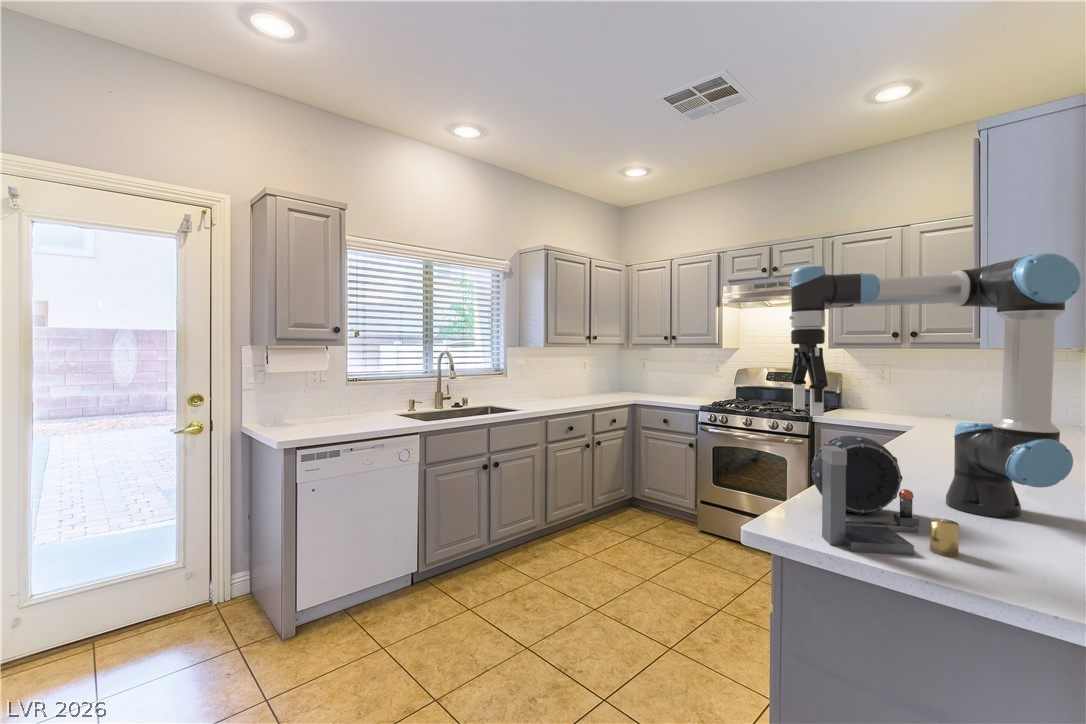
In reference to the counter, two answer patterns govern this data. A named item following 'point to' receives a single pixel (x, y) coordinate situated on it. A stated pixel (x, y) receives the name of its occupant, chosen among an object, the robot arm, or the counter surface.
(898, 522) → the lever
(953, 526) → the cylinder
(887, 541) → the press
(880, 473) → the dark studded drum
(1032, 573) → the counter surface
